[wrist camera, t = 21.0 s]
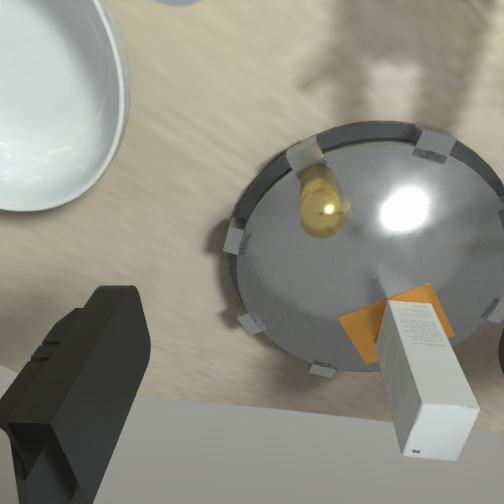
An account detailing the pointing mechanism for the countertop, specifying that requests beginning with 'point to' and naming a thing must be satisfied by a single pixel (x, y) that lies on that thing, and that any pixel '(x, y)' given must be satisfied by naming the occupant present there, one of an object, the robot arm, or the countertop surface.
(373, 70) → the countertop surface
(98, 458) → the robot arm
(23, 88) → the serving bowl
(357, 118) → the countertop surface
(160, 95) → the countertop surface
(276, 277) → the sprocket
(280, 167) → the plate
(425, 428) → the skincare box
